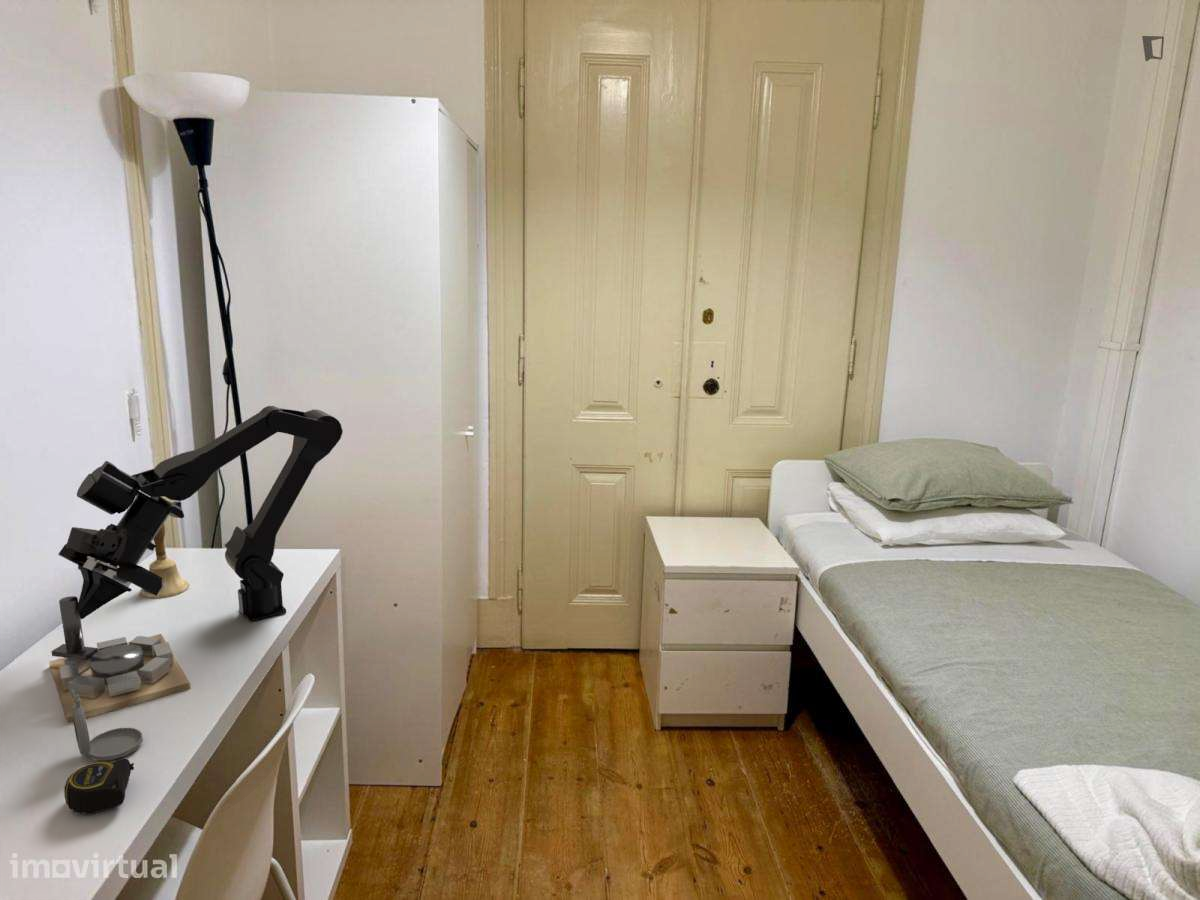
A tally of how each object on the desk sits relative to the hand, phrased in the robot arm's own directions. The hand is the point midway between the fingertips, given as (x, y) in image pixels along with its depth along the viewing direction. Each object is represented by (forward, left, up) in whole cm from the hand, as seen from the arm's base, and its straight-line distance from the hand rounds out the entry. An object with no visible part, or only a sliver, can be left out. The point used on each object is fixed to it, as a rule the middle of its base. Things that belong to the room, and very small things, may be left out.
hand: (78, 617), depth 132 cm
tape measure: (+3, +36, -9) cm, 37 cm away
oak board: (-4, +6, -9) cm, 11 cm away
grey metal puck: (-4, +6, -9) cm, 11 cm away
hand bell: (-17, -25, -9) cm, 31 cm away
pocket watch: (+1, +25, -9) cm, 27 cm away
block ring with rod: (-3, +5, -7) cm, 10 cm away
